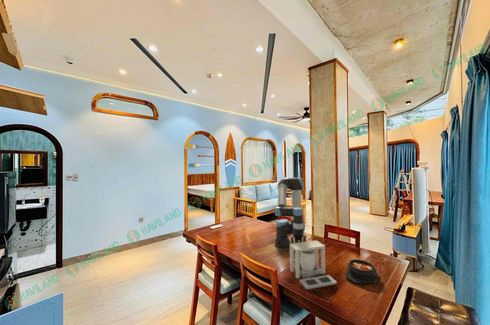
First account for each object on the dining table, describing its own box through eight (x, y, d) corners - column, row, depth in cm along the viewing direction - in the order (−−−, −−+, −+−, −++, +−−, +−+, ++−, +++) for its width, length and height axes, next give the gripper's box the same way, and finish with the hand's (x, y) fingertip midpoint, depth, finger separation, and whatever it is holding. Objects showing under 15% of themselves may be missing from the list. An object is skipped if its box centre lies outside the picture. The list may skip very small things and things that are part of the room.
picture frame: (288, 262, 152) (288, 243, 152) (306, 259, 155) (306, 240, 155) (302, 277, 131) (302, 255, 131) (323, 274, 135) (322, 252, 135)
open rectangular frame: (290, 270, 142) (289, 243, 142) (316, 266, 147) (316, 240, 147) (306, 289, 121) (306, 258, 121) (337, 283, 126) (336, 253, 126)
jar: (317, 271, 140) (317, 251, 139) (311, 278, 132) (310, 256, 132) (304, 266, 147) (304, 246, 147) (297, 271, 140) (296, 251, 140)
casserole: (366, 291, 118) (366, 277, 118) (337, 276, 134) (337, 264, 134) (385, 277, 131) (385, 265, 131) (357, 265, 147) (357, 254, 147)
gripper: (290, 230, 146) (291, 261, 146) (310, 228, 150) (310, 258, 150) (286, 227, 153) (286, 257, 154) (305, 225, 157) (305, 254, 157)
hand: (298, 257), depth 152 cm, fingers closed on picture frame, 3 cm apart
